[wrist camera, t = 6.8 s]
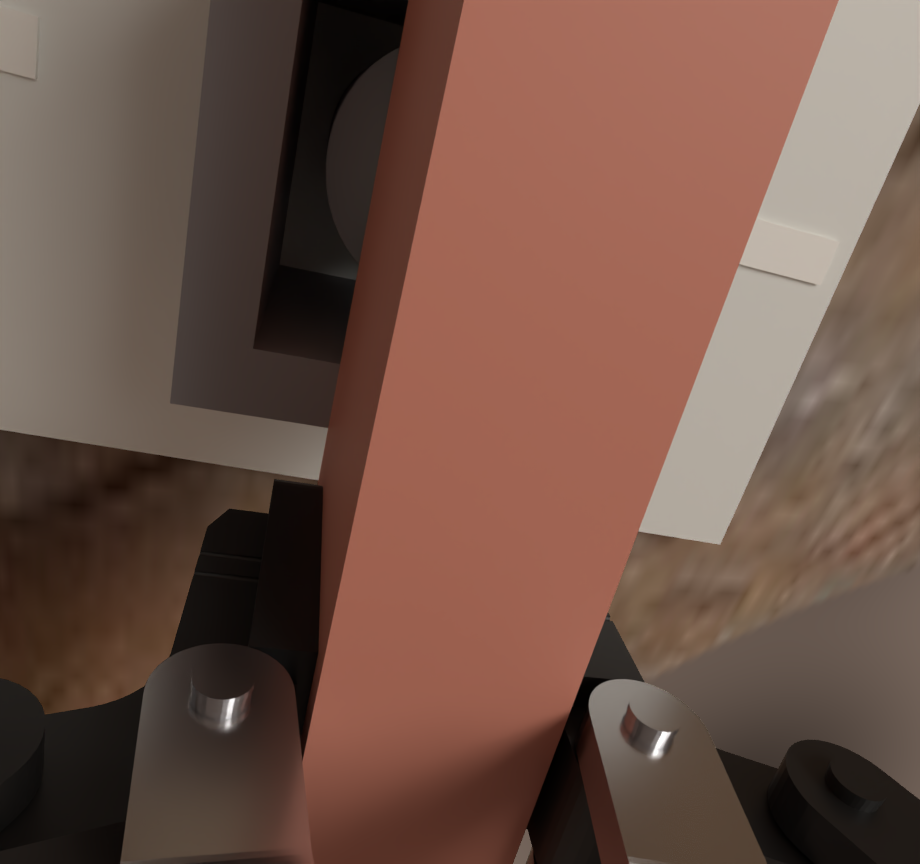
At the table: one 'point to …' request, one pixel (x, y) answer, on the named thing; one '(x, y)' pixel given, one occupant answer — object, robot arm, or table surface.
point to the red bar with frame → (479, 359)
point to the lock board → (139, 223)
